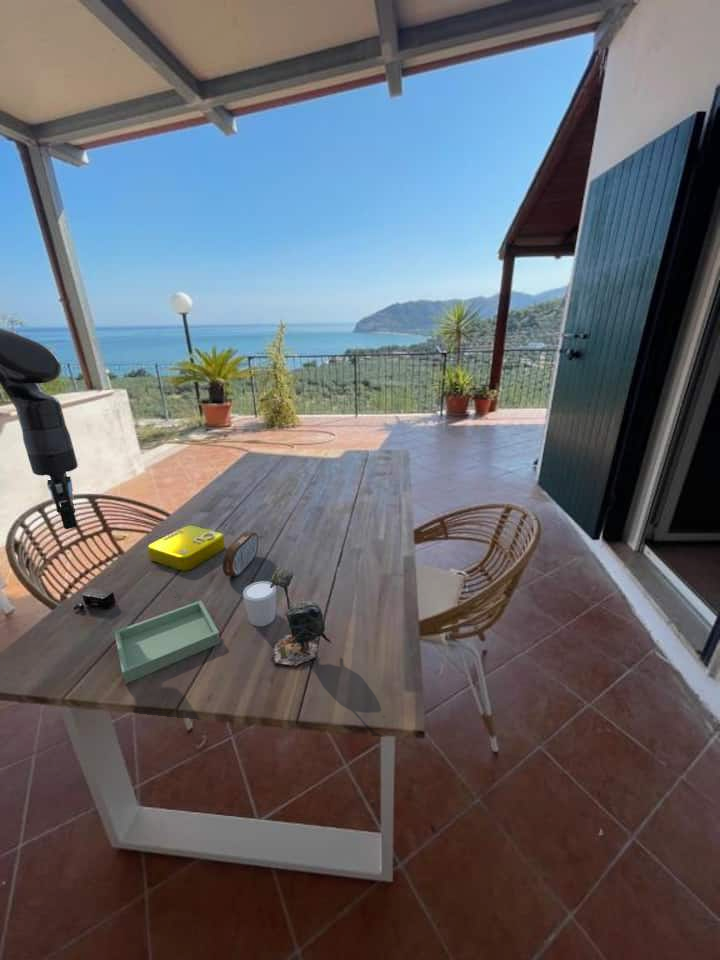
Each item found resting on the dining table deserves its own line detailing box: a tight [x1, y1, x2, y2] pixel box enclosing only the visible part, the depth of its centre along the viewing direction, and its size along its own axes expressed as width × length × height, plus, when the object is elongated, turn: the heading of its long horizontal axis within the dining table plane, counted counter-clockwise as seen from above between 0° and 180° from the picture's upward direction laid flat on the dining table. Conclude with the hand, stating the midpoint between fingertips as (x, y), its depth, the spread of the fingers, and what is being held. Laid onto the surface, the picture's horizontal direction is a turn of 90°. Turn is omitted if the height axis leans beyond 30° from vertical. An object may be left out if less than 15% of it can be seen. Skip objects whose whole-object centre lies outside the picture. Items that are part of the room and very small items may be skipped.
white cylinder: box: [242, 580, 277, 627], centre depth 83 cm, size 7×7×7 cm
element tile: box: [147, 524, 226, 572], centre depth 109 cm, size 15×15×5 cm
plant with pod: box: [270, 566, 332, 667], centre depth 71 cm, size 8×11×20 cm
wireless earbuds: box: [73, 587, 116, 611], centre depth 87 cm, size 5×7×3 cm, turn 77°
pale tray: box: [114, 600, 221, 685], centre depth 77 cm, size 17×13×3 cm
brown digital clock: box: [222, 530, 259, 577], centre depth 102 cm, size 15×3×8 cm, turn 168°
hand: (70, 520), depth 84 cm, fingers open, 8 cm apart
